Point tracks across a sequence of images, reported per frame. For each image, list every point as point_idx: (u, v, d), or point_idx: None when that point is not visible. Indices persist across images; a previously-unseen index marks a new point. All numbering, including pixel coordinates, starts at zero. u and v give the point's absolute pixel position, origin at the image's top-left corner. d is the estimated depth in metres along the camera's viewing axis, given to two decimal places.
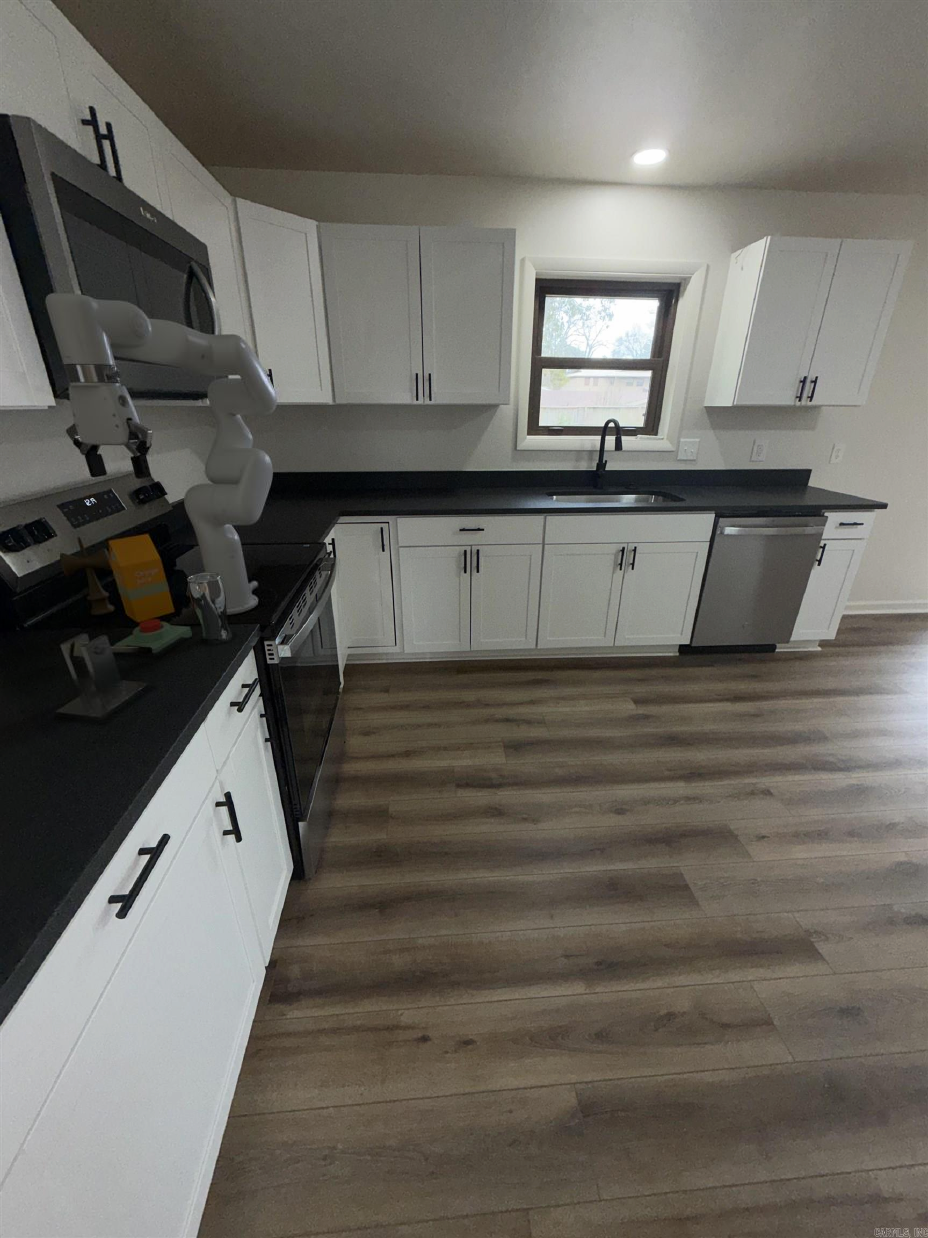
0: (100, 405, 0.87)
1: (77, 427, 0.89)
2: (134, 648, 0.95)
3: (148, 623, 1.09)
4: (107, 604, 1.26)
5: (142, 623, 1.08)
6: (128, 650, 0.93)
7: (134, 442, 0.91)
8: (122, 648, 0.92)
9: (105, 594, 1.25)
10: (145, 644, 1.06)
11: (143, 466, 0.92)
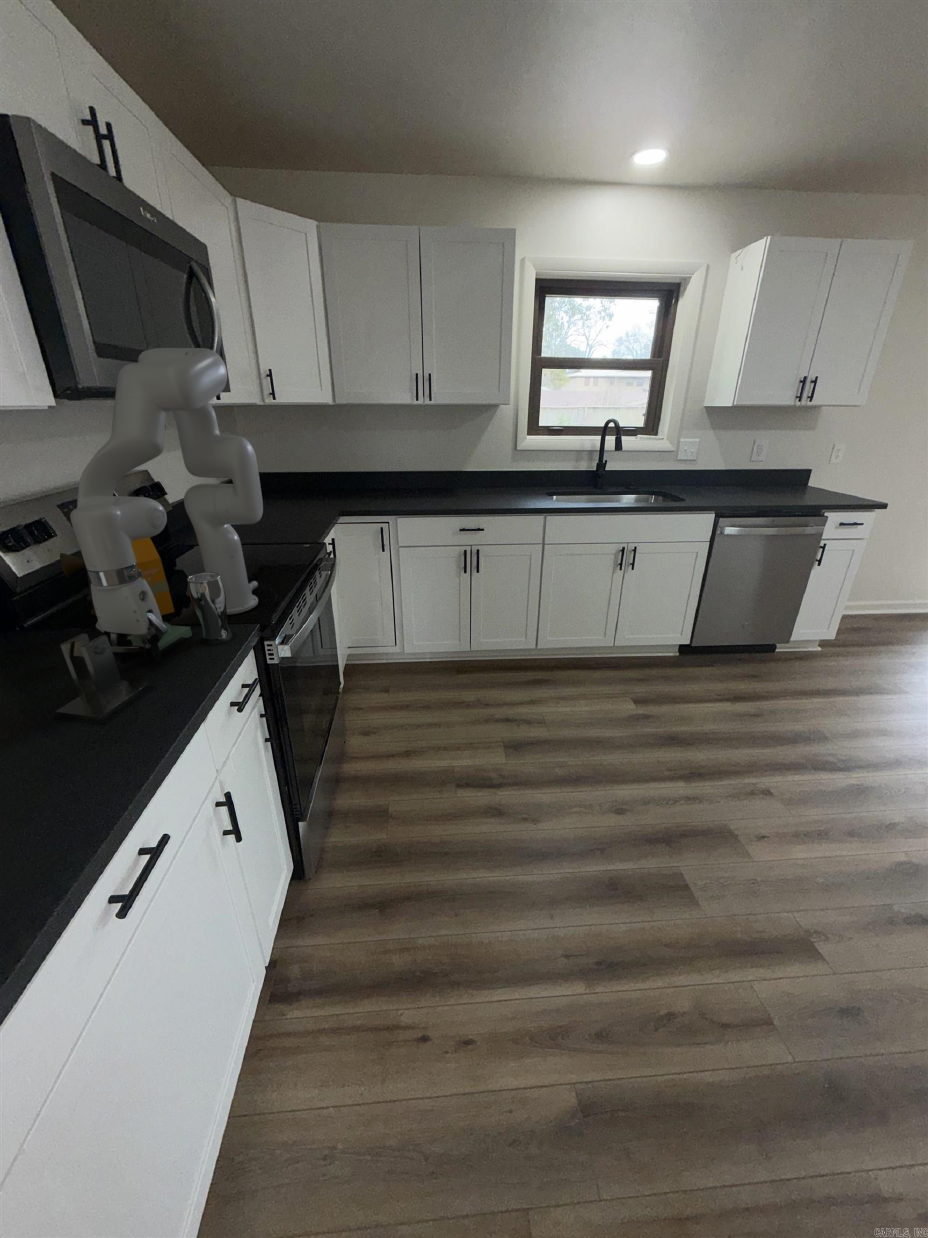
0: (121, 603, 0.89)
1: (98, 618, 0.92)
2: (134, 648, 0.95)
3: None
4: None
5: None
6: (128, 650, 0.93)
7: (149, 632, 0.95)
8: (122, 648, 0.92)
9: None
10: None
11: (155, 655, 0.96)
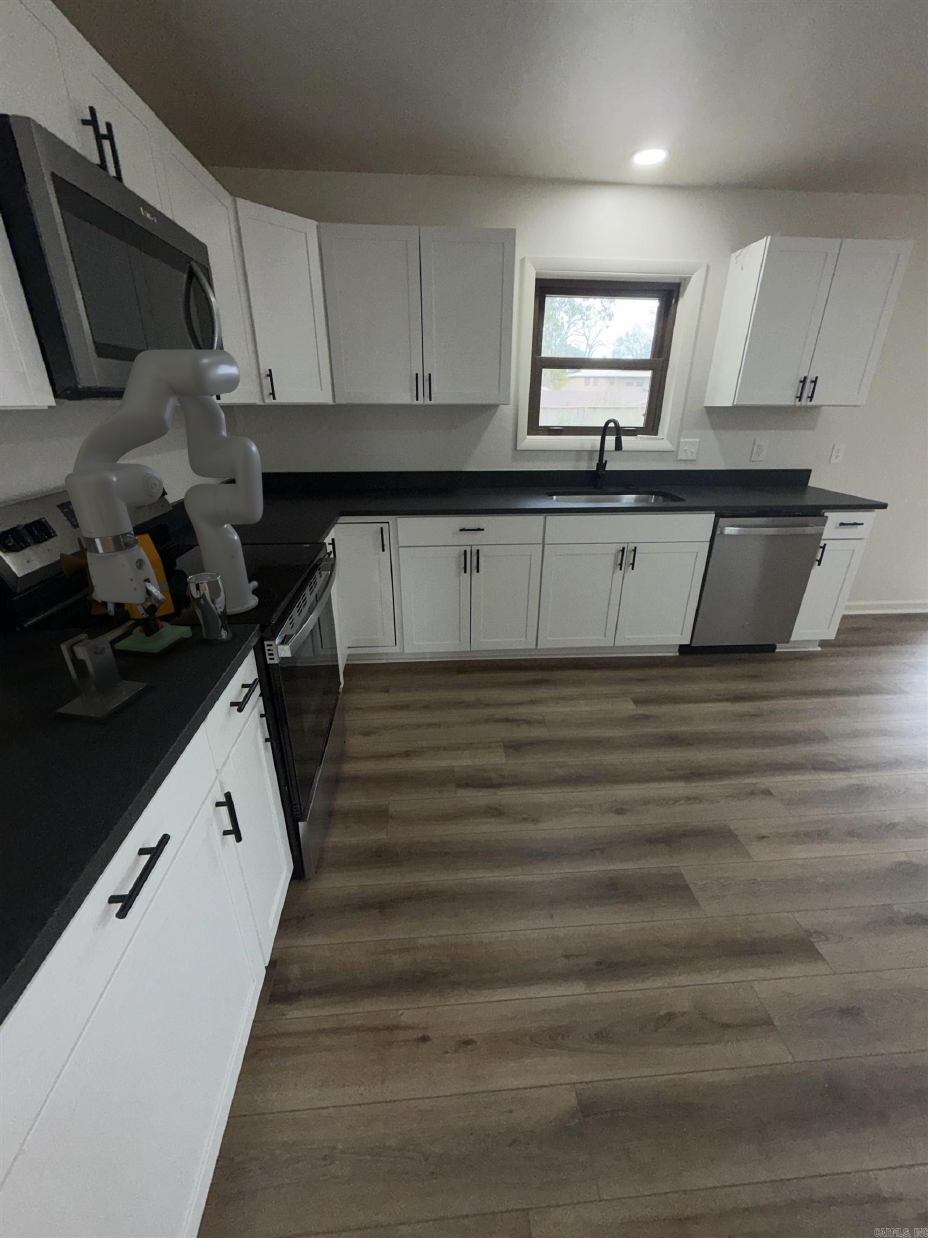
0: (118, 571, 0.88)
1: (95, 587, 0.91)
2: (131, 624, 0.94)
3: None
4: None
5: None
6: (126, 629, 0.93)
7: (146, 602, 0.93)
8: (120, 630, 0.91)
9: None
10: (145, 644, 1.06)
11: (153, 625, 0.94)
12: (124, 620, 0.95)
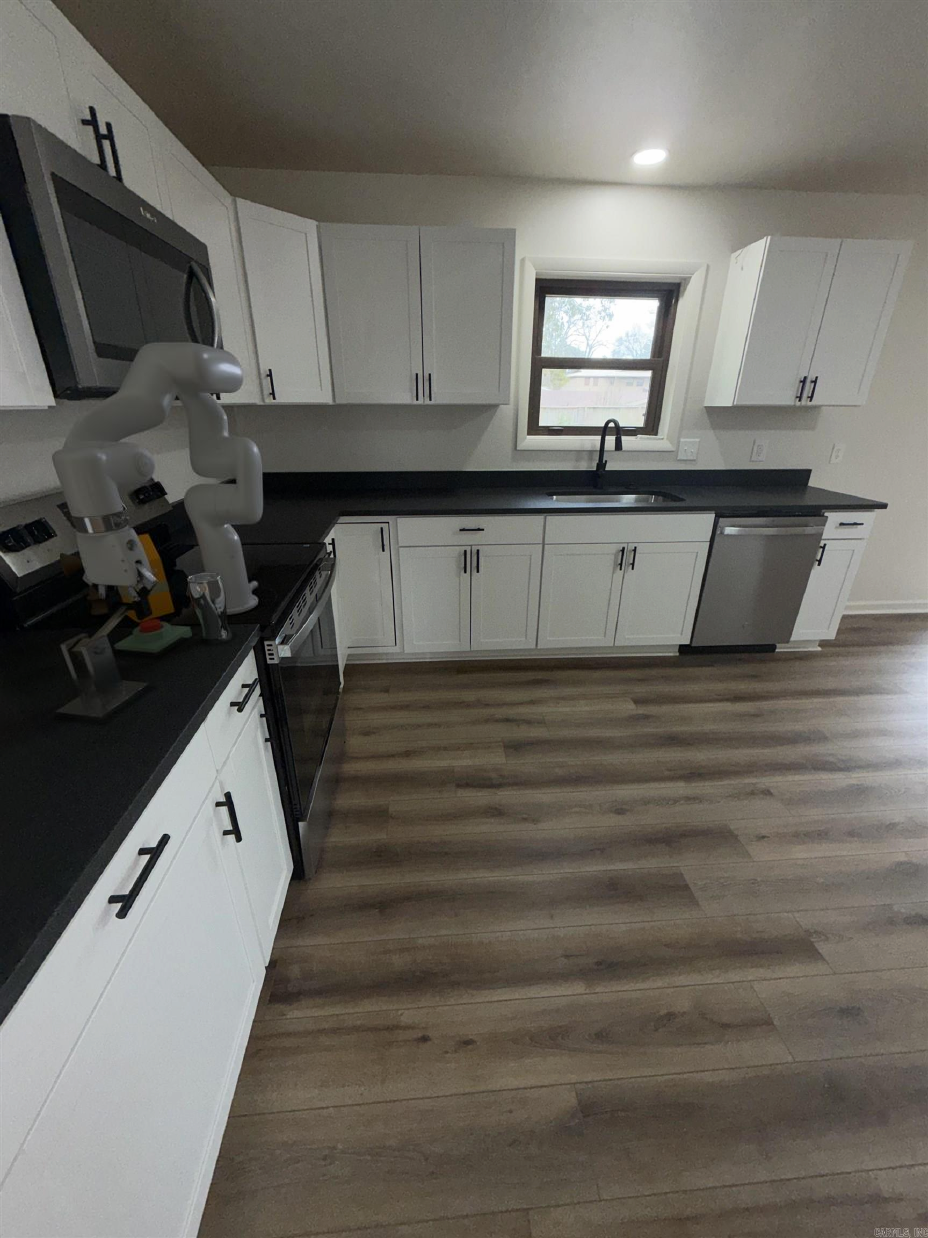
0: (108, 552, 0.86)
1: (85, 569, 0.89)
2: (124, 610, 0.92)
3: (148, 623, 1.09)
4: None
5: (142, 623, 1.08)
6: (120, 617, 0.91)
7: (138, 584, 0.91)
8: (114, 621, 0.90)
9: None
10: (145, 644, 1.06)
11: (145, 608, 0.92)
12: (116, 605, 0.93)
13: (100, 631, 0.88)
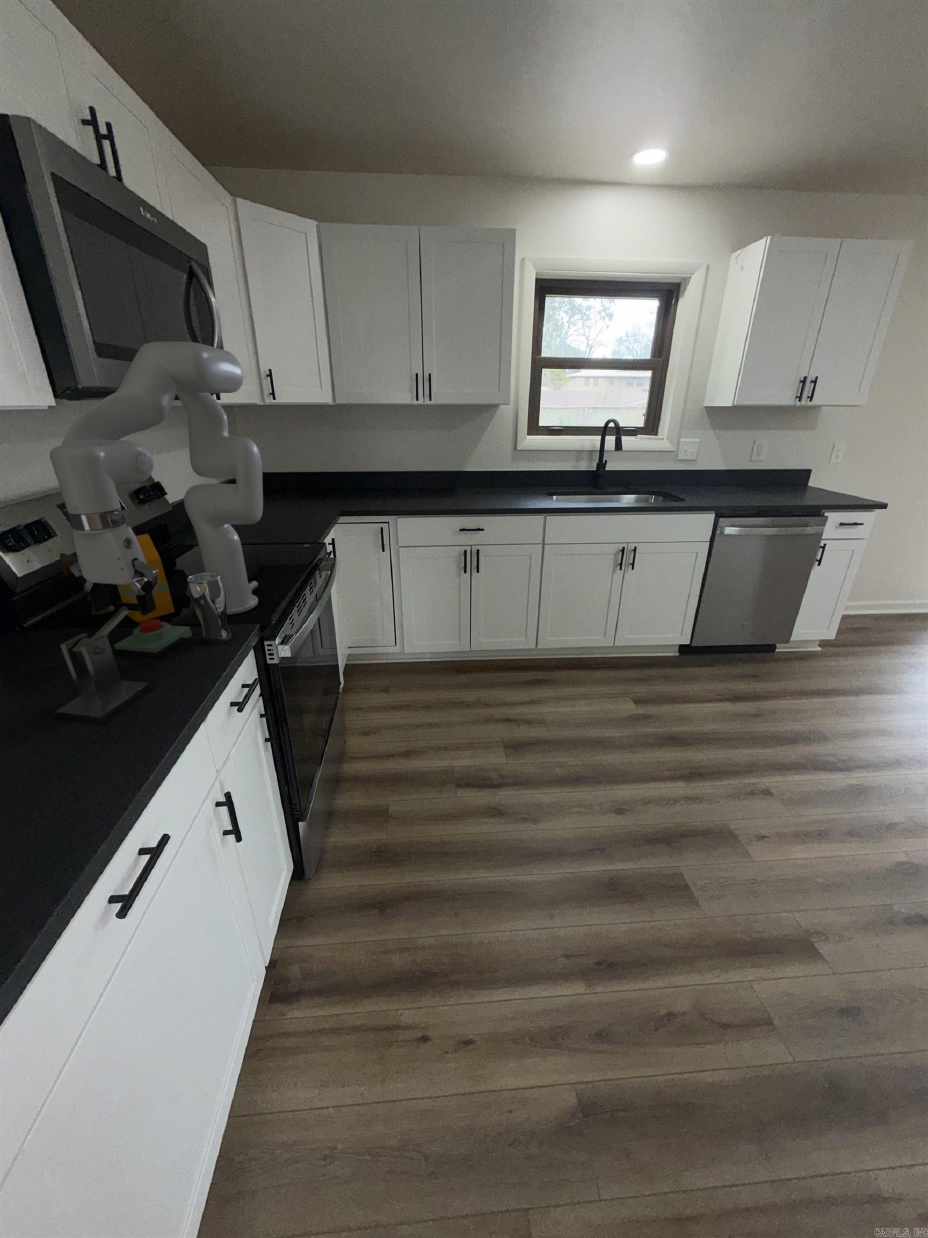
0: (105, 550, 0.85)
1: (81, 567, 0.88)
2: (124, 611, 0.92)
3: (148, 623, 1.09)
4: None
5: (142, 623, 1.08)
6: (121, 617, 0.91)
7: (139, 580, 0.90)
8: (114, 621, 0.90)
9: None
10: (145, 644, 1.06)
11: (149, 603, 0.91)
12: (116, 606, 0.93)
13: (100, 631, 0.88)
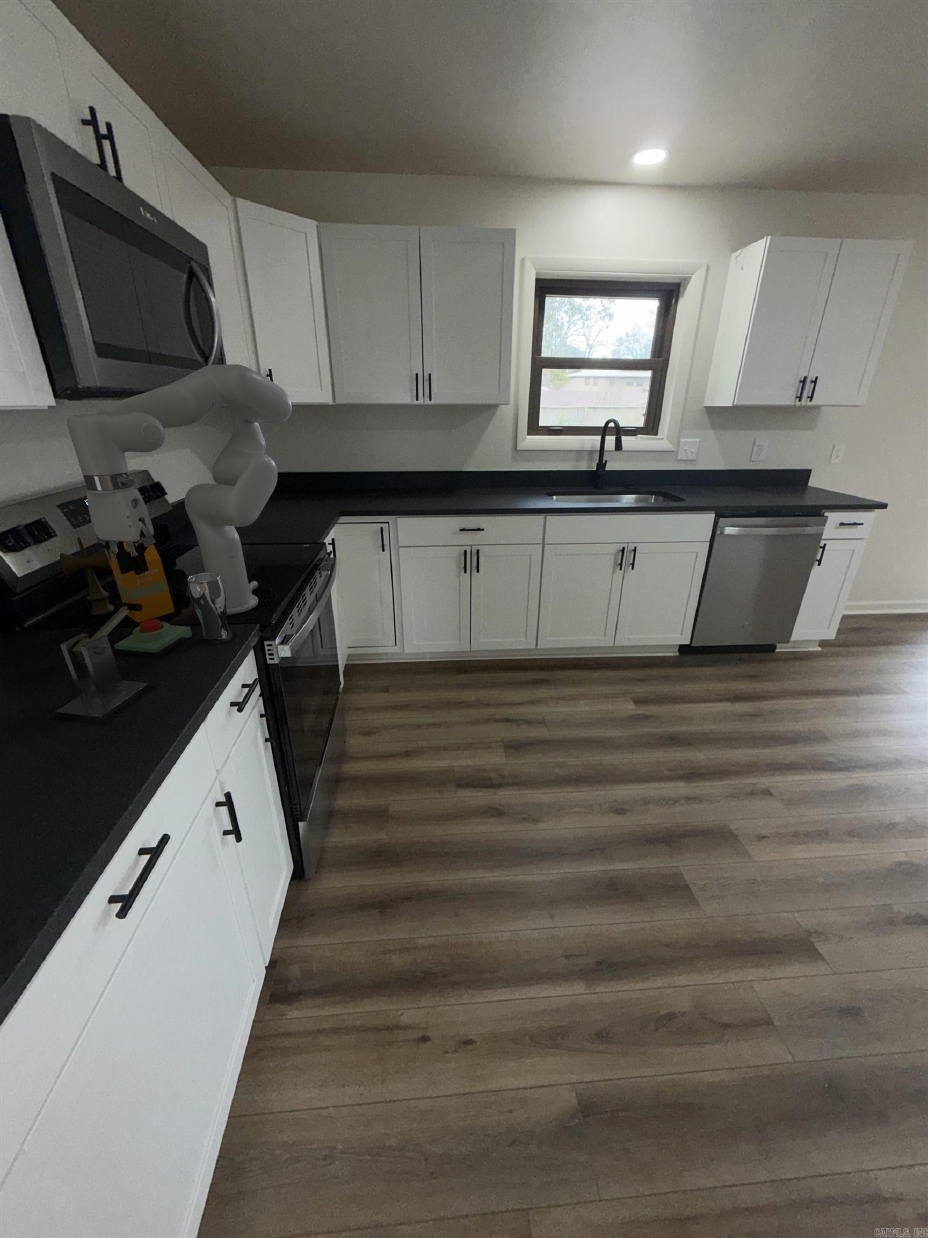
0: (115, 509, 0.96)
1: (94, 526, 0.99)
2: (124, 611, 0.92)
3: (148, 623, 1.09)
4: (107, 604, 1.26)
5: (142, 623, 1.08)
6: (121, 617, 0.91)
7: (138, 541, 1.01)
8: (114, 621, 0.90)
9: (105, 594, 1.25)
10: (145, 644, 1.06)
11: (141, 564, 1.02)
12: (116, 606, 0.93)
13: (100, 631, 0.88)
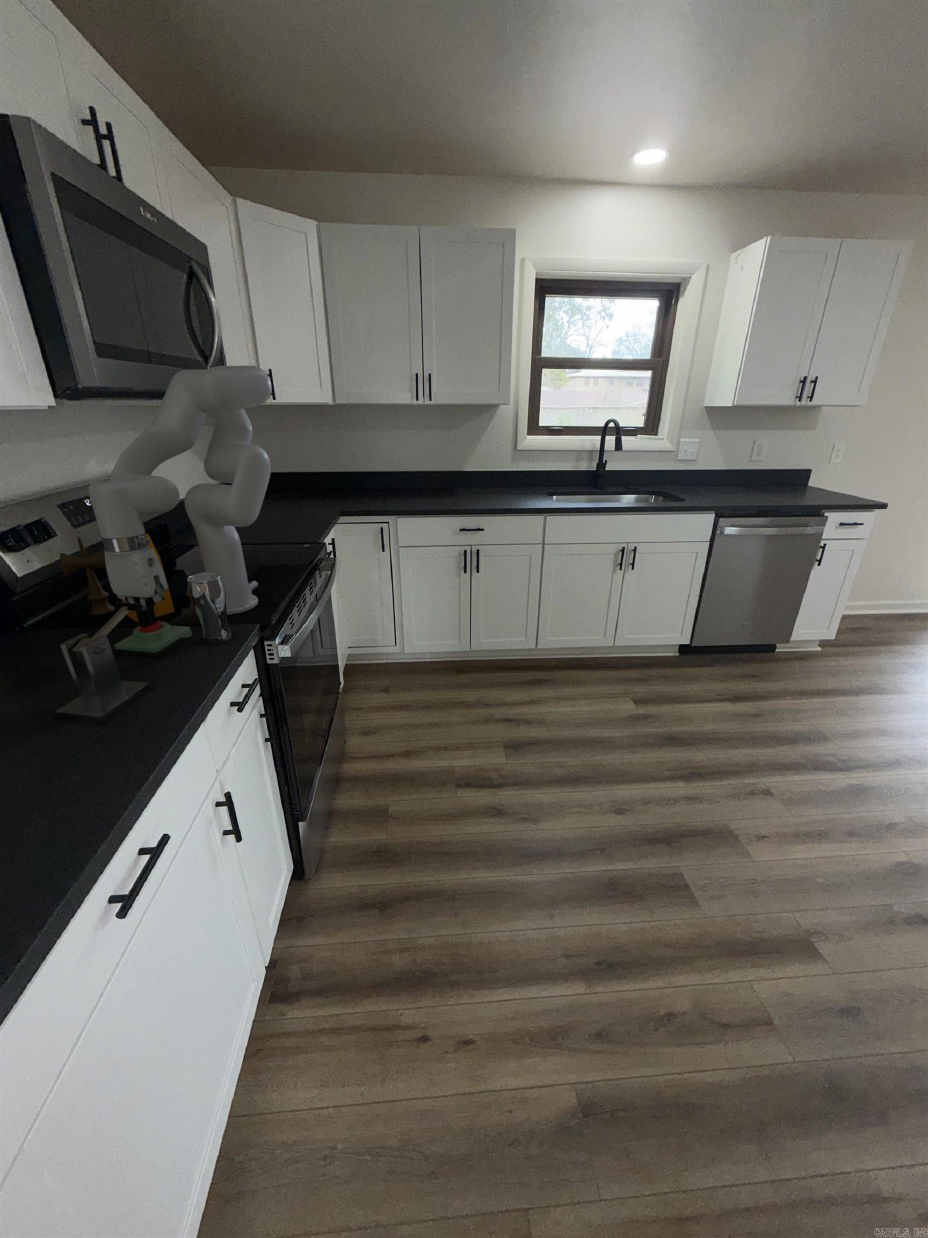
0: (132, 568, 1.01)
1: (111, 583, 1.03)
2: (124, 611, 0.92)
3: None
4: (107, 604, 1.26)
5: None
6: (121, 617, 0.91)
7: None
8: (114, 621, 0.90)
9: (105, 594, 1.25)
10: (145, 644, 1.06)
11: (150, 617, 1.07)
12: (116, 606, 0.93)
13: (100, 631, 0.88)
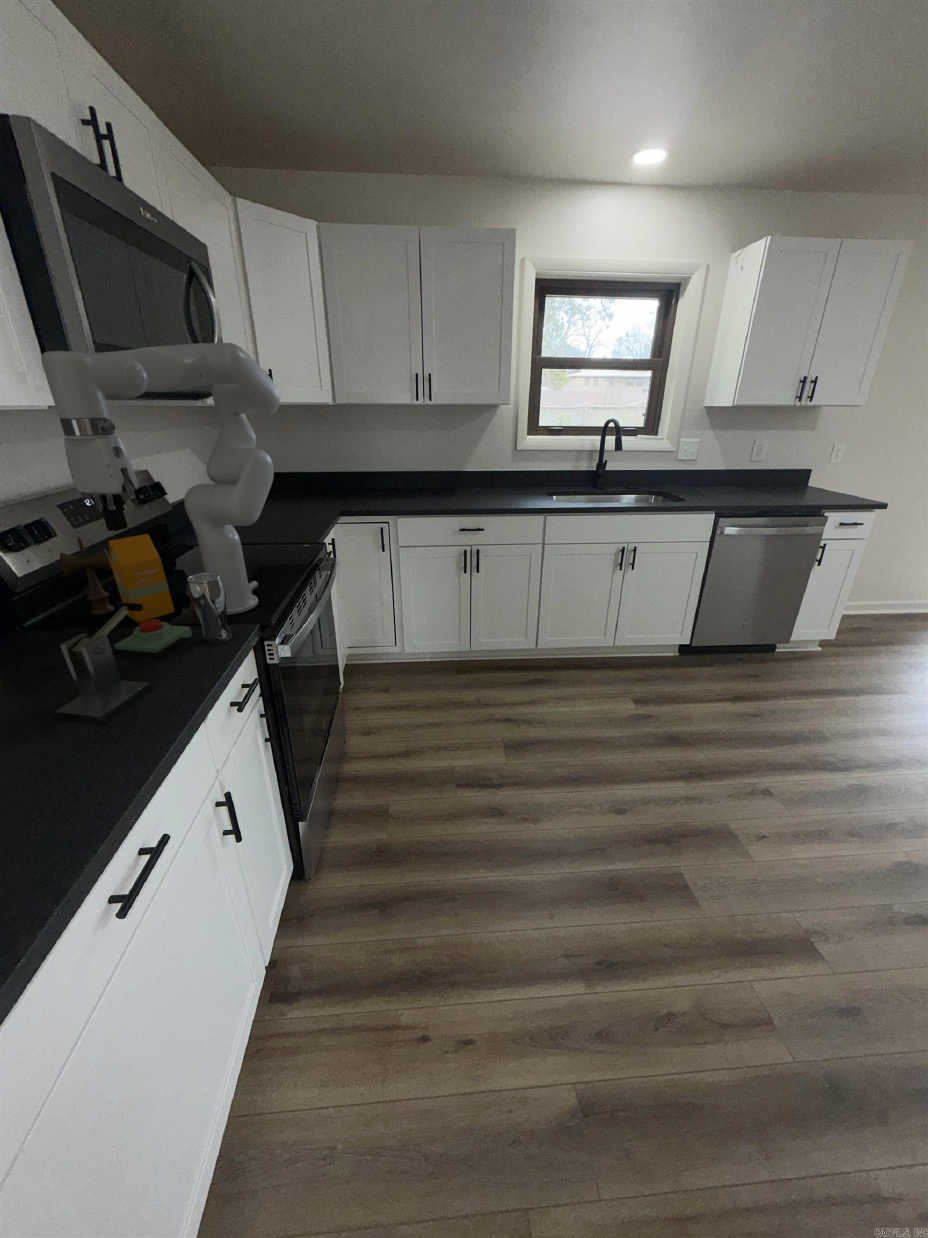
0: (95, 457, 0.89)
1: (73, 477, 0.91)
2: (124, 611, 0.92)
3: (148, 623, 1.09)
4: (107, 604, 1.26)
5: (142, 623, 1.08)
6: (121, 617, 0.91)
7: None
8: (114, 621, 0.90)
9: (105, 594, 1.25)
10: (145, 644, 1.06)
11: (119, 519, 0.95)
12: (116, 606, 0.93)
13: (100, 631, 0.88)
